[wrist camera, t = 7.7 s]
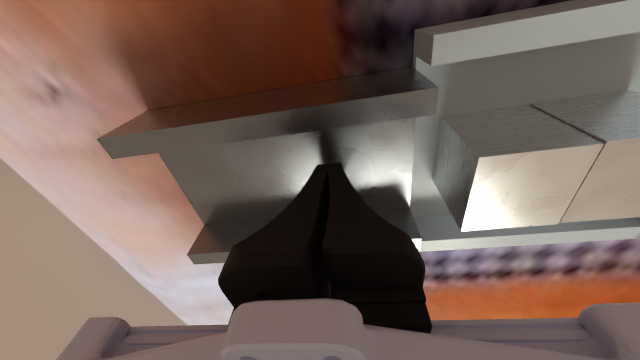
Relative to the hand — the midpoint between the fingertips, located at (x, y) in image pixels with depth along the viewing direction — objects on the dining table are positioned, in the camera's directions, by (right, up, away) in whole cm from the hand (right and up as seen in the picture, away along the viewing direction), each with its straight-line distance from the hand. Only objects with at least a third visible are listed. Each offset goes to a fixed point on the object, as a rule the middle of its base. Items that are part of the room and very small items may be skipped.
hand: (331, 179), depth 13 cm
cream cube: (+8, +2, 0) cm, 8 cm away
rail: (-2, +1, +2) cm, 3 cm away
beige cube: (+12, +2, 0) cm, 12 cm away
